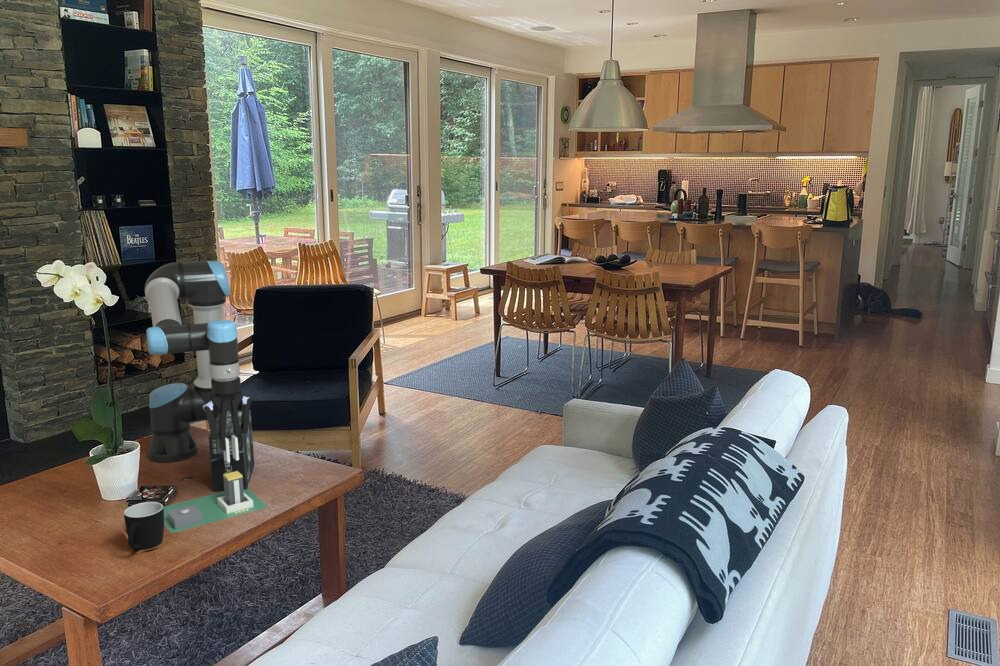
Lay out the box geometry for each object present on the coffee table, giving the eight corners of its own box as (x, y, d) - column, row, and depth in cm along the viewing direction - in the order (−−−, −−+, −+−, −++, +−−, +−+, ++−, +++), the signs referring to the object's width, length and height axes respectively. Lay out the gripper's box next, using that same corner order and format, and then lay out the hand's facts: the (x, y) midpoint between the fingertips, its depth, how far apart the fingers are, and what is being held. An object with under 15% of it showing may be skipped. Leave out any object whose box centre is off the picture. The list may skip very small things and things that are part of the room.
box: (248, 494, 225) (244, 433, 221) (212, 497, 223) (207, 435, 219) (255, 465, 247) (251, 409, 243) (223, 467, 245) (218, 411, 241)
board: (153, 512, 211) (151, 498, 210) (245, 489, 227) (245, 476, 226) (171, 536, 197) (169, 522, 197) (268, 510, 213) (267, 496, 212)
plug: (225, 504, 214) (223, 474, 213) (239, 500, 217) (237, 470, 215) (231, 510, 211) (228, 479, 209) (245, 506, 213) (243, 476, 211)
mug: (139, 537, 197) (135, 501, 195) (173, 538, 196) (169, 502, 194) (113, 561, 185) (109, 522, 183) (150, 562, 185) (146, 523, 183)
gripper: (201, 385, 199) (208, 470, 204) (257, 376, 208) (262, 457, 213) (193, 379, 205) (200, 461, 210) (247, 370, 214) (253, 450, 219)
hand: (231, 459), depth 211 cm, fingers open, 2 cm apart
